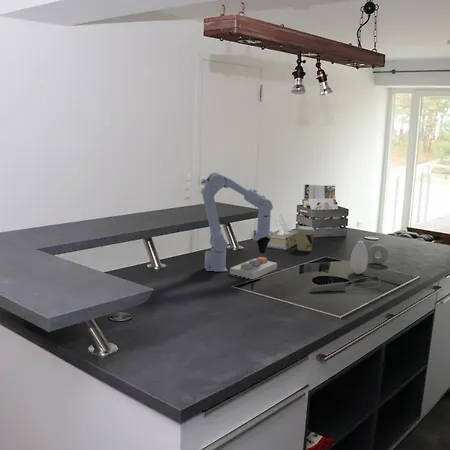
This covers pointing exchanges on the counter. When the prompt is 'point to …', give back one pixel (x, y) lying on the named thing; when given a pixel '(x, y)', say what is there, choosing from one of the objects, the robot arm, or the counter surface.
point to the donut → (383, 251)
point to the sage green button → (246, 266)
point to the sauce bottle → (359, 258)
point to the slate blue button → (254, 263)
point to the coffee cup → (305, 238)
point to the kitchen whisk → (337, 286)
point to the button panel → (254, 270)
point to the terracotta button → (262, 260)
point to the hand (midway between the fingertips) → (262, 253)
